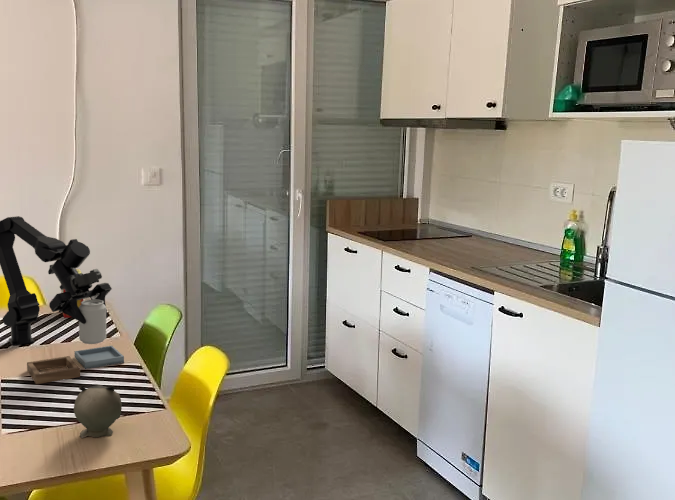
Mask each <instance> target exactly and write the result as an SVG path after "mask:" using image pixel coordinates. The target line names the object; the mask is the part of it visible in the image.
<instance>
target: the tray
mask: <svg viewBox="0 0 675 500" xmlns="http://www.w3.org/2000/svg"><path fill="white" fill-rule="evenodd" d="M74 359H75V360H76V361H77V362H78V363H79V364H80V366H82V367H83V369H84V370H89V369H95V368H100V367H107V366H113V365H119V364H124V363H125V356H124V355H123V354H122V353H121V352H120V351H119V350H118V349H116V348H115V347H114V345H107V346H106V345H105V346H99V347H93V348H88V349H87V348H86V349H79V350H74Z"/></svg>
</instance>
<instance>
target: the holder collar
mask: <svg viewBox="0 0 675 500" xmlns="http://www.w3.org/2000/svg"><path fill="white" fill-rule="evenodd" d="M63 367H66V368H65V369H64V368H63ZM55 368H56V369H58V368H63V369H59V370H51V371H46V372H41V373H40V372H39V371H44V370H50V369H55ZM26 371H27V373H28V374H29V376H30V377H31V378H32V380H33V381H34V383H35V385H40V384H47V383H53V382H57V381H58V380H59V381H63V379H65V380H70V379H74V378H80V377H81V368H80V366H79V365H78V364H77V363H76V362H75V361H74V359H73V358H71V356H70V355H68V356H62V357H61V356H60V357H54V358H47V359H42V360H41V359H40V360H35V361H28V362H26ZM52 381H53V382H52Z"/></svg>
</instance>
